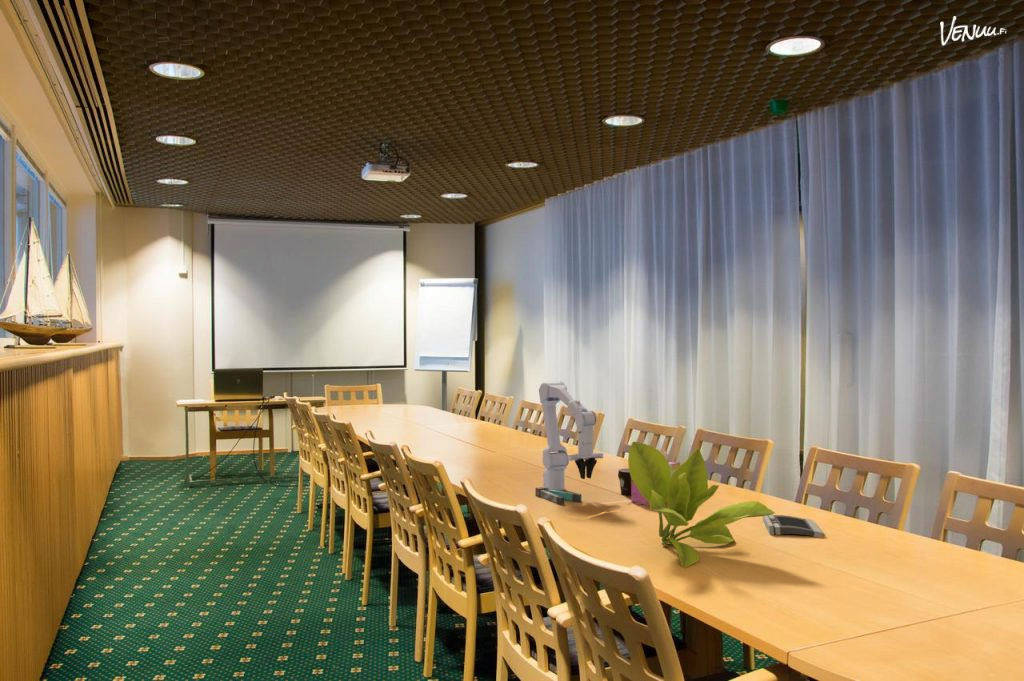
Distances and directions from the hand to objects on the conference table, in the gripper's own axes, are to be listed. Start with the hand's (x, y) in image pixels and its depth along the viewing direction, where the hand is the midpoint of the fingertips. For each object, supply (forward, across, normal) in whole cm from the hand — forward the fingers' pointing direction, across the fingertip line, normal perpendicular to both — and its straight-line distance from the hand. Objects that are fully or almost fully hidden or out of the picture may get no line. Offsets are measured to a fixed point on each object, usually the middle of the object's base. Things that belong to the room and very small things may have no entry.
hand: (585, 478), depth 289 cm
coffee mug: (+9, +20, +1) cm, 22 cm away
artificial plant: (+9, -8, -71) cm, 72 cm away
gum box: (+9, +25, -11) cm, 29 cm away
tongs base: (+8, -12, +4) cm, 15 cm away
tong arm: (+8, -8, +2) cm, 11 cm away
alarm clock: (+9, +38, -67) cm, 77 cm away
